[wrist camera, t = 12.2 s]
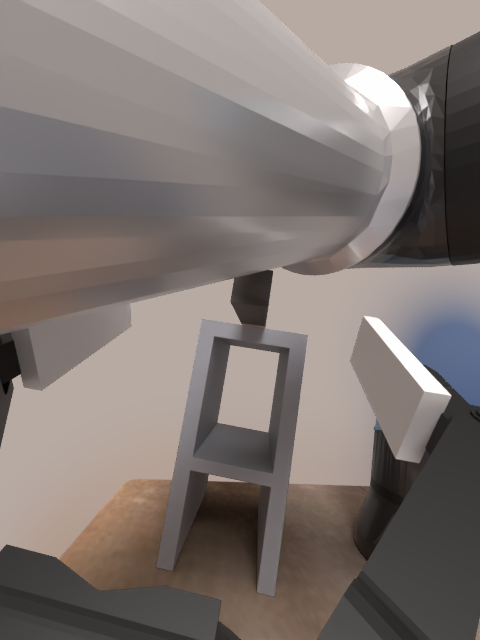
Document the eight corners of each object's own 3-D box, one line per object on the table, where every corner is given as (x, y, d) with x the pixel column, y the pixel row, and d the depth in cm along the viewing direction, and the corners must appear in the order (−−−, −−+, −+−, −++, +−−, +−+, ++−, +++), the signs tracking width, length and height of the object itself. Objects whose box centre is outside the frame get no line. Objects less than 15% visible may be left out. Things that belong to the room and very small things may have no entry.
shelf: (269, 507, 49) (291, 343, 53) (274, 596, 30) (307, 333, 34) (195, 490, 50) (222, 332, 55) (156, 567, 32) (202, 317, 36)
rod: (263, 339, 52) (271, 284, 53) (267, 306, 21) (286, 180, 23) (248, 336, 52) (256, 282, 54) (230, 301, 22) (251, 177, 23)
